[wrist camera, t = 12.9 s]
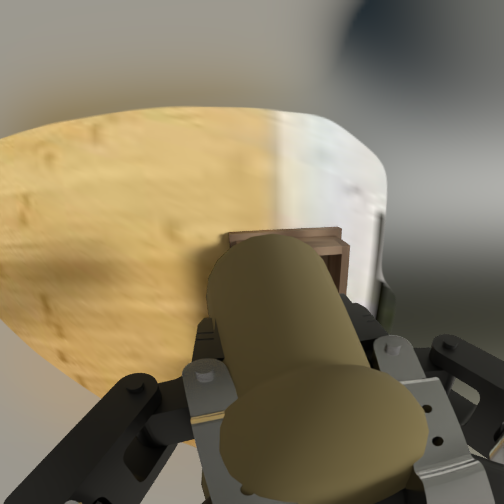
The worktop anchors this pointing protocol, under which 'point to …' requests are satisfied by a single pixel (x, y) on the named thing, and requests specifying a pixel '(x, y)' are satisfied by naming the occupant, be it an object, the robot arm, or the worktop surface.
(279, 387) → the olive rounded piece
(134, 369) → the worktop surface
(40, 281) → the worktop surface
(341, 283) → the caddy
